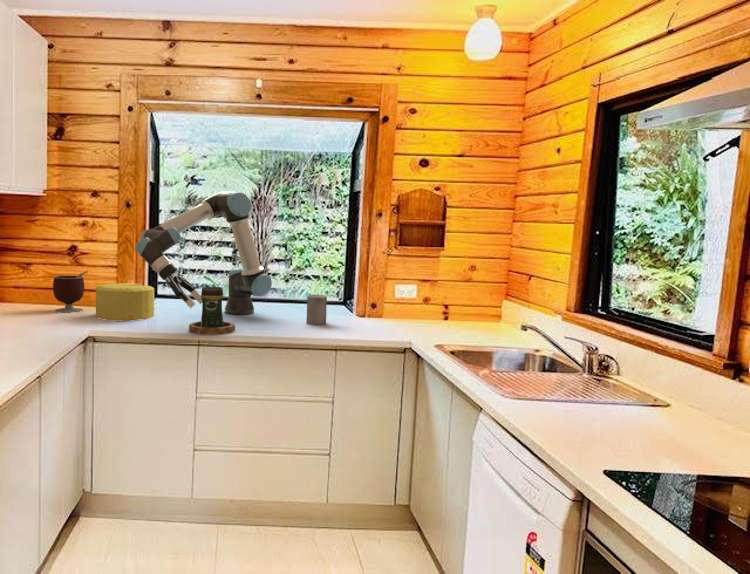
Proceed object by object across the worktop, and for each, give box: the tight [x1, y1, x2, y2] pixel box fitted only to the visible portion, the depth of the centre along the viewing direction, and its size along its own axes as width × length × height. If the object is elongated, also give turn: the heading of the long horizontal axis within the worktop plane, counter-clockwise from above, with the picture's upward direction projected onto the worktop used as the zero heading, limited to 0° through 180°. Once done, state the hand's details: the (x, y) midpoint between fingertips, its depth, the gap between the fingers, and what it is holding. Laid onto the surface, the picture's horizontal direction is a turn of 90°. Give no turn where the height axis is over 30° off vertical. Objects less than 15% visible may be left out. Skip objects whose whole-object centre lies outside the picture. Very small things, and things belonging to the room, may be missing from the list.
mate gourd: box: [52, 270, 88, 314], centre depth 297 cm, size 16×14×20 cm
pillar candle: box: [306, 293, 328, 326], centre depth 294 cm, size 10×10×15 cm
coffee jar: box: [200, 286, 225, 328], centre depth 264 cm, size 10×8×19 cm
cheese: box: [95, 282, 155, 321], centre depth 289 cm, size 26×26×15 cm
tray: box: [188, 320, 236, 335], centre depth 265 cm, size 19×19×3 cm
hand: (198, 304), depth 264 cm, fingers open, 13 cm apart
